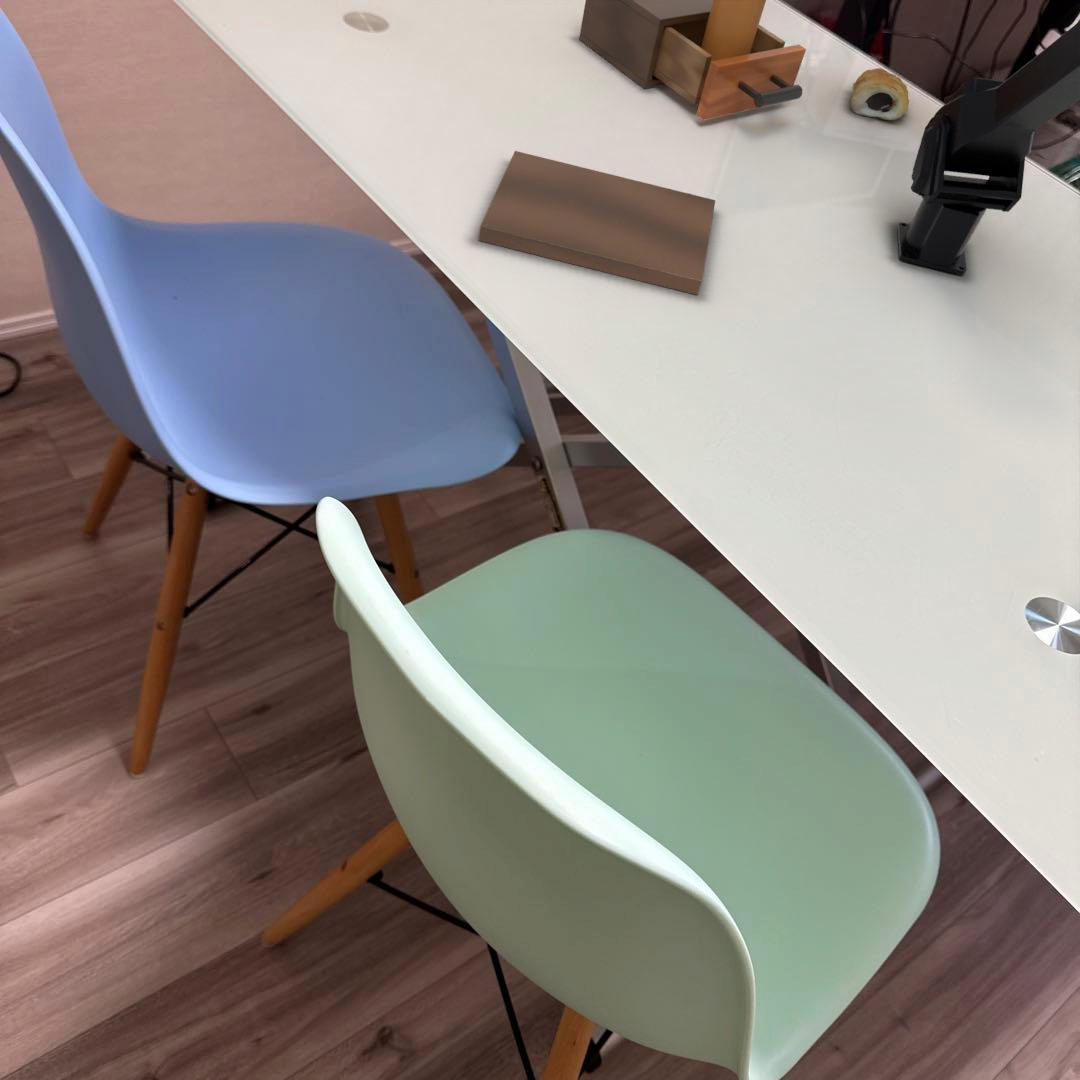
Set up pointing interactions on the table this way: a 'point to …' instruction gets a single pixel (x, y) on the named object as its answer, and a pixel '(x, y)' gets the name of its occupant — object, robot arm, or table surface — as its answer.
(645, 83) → the cabinet
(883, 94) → the pastry
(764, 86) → the drawer
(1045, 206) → the table surface
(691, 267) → the board
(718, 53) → the dome-topped orange cylinder
